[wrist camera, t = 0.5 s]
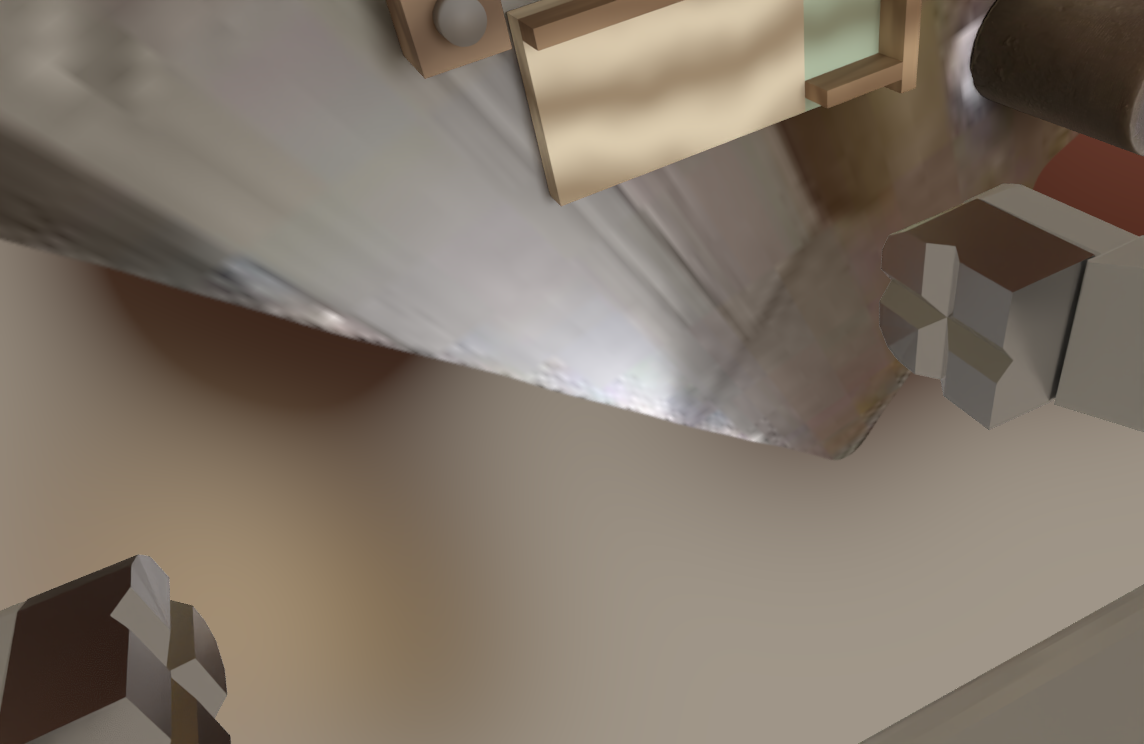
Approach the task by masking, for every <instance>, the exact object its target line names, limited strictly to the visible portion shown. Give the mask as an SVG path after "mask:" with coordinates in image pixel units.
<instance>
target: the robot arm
mask: <svg viewBox="0 0 1144 744" xmlns="http://www.w3.org/2000/svg"><path fill="white" fill-rule="evenodd" d="M881 269H882V271H883V272H884V273H885V274H886V275H887V276H888V277H889V278H890V279H891V282H890V284H889V285H888V287H887V289H886V291H885V293H884V294H883V296H882V298H881V300H880V301H879V326H880V329H881V331H882V334H883V336H884V339H885V341H886V344H887V346H888V348H889V349H890V351H891V352H892V353H893V354H894V356H895V357H896V358H897V360H898V361H899V362H900V363H902V364H903V365H904V366H905V367H907V368H908V369H909V370H910V371H912V372H913V373H914V374H917V375H922V376H926V377H931V378H936V379H940V380H941V384H942V390H943V395H944V397H946V398H947V399H948V400H950V401H951V402H952V403H954V404H955V405H956V406H958V407H959V408H960V409H962V410H963V411H964V412H966V413H967V414H968V415H970V416H971V417H972V418H974V419H975V420H976V421H978V422H979V423H980V424H982V425H983V426H984V427H985V428H987V429H988V430H990V429H993V428H995V427H997V426H999V425H1001V424H1003V423H1006V422H1008V421H1010V420H1012V419H1015V418H1017V417H1019V416H1021V415H1023V414H1025V413H1027V412H1030V411H1032V410H1034V409H1036V408H1039V407H1041V406H1043V405H1045V404H1047V403H1050V402H1052V401H1054V400H1055V403H1054V404H1055V405H1058V406H1061V407H1064V408H1068V409H1071V410H1074V411H1077V412H1080V413H1084V414H1087V415H1090V416H1093V417H1097V418H1100V419H1103V420H1106V421H1109V422H1113V423H1116V424H1119V425H1122V426H1126V427H1129V428H1132V429H1135V430H1139V431H1142V432H1144V235H1143V236H1141V237H1138V236H1136V235H1134V234H1131V233H1129V232H1127V231H1125V230H1122V229H1120V228H1118V227H1116V226H1113V225H1111V224H1109V223H1106V222H1104V221H1102V220H1100V219H1098V218H1095V217H1093V216H1090V215H1088V214H1086V213H1084V212H1082V211H1079V210H1077V209H1075V208H1073V207H1070V206H1068V205H1066V204H1064V203H1061V202H1059V201H1057V200H1054V199H1052V198H1050V197H1048V196H1045V195H1043V194H1040V193H1039V192H1036V191H1034V190H1032V189H1030V188H1027V187H1025V186H1023V185H1021V184H1002V185H999V186H997V187H995V188H993V189H991V190H988V191H986V192H984V193H982V194H980V195H977V196H975V197H973V198H971V199H969V200H966V201H965V202H964V203H963V204H960V205H958V206H955V207H953V208H951V209H949V210H946V211H944V212H942V213H939V214H937V215H935V216H932V217H930V218H928V219H925V220H923V221H921V222H919V223H916V224H914V225H912V226H909V227H907V228H905V229H902V230H900V231H898V232H895V233H893V234H891V235H889V236H888V238H887V240H886V242H885V245H884V247H883V249H882V260H881ZM226 696H227V688H226V678H225V669H224V665H223V662H222V659H221V656H220V652H219V649H218V646H217V643H216V640H215V638H214V636H213V635H212V633H211V631H210V629H209V627H208V626H207V624H206V622H205V621H204V619H203V618H202V617H201V616H200V614H199V613H198V612H197V611H196V609H195V608H194V607H193V606H191V605H188V604H184V603H180V602H175V601H172V600H170V588H169V577H168V576H167V575H166V574H165V573H164V571H163V570H162V569H161V568H160V567H159V566H158V565H157V564H156V563H155V561H154V560H153V559H152V558H151V557H150V556H144V555H136V556H133V557H131V558H128V559H126V560H123V561H121V562H118V563H116V564H114V565H111V566H108V567H106V568H103V569H101V570H99V571H96V572H93V573H91V574H89V575H86V576H83V577H81V578H78V579H76V580H73V581H71V582H68V583H66V584H64V585H61V586H59V587H56V588H54V589H51V590H49V591H46V592H44V593H41V594H39V595H36V596H34V597H31V598H29V599H28V600H27V601H25V602H22V603H18V604H16V605H13V606H11V607H9V608H6V609H4V610H2V611H0V744H231V739H230V735H229V734H228V733H227V732H226V731H225V729H224V728H223V727H222V726H221V725H220V724H219V723H218V722H217V721H216V720H215V717H216V715H217V713H218V711H219V709H220V707H221V706H222V704H223V702H224V700H225V698H226ZM858 744H1144V585H1142V586H1140V587H1138V588H1136V589H1134V590H1133V591H1131V592H1129V593H1127V594H1125V595H1124V596H1122V597H1120V598H1118V599H1117V600H1115V601H1113V602H1111V603H1109V604H1108V605H1106V606H1104V607H1102V608H1100V609H1099V610H1097V611H1095V612H1093V613H1091V614H1090V615H1088V616H1086V617H1084V618H1082V619H1081V620H1079V621H1077V622H1075V623H1073V624H1072V625H1070V626H1068V627H1067V628H1065V629H1063V630H1061V631H1059V632H1057V633H1056V634H1054V635H1052V636H1051V637H1049V638H1047V639H1045V640H1043V641H1041V642H1040V643H1038V644H1036V645H1034V646H1032V647H1030V648H1029V649H1027V650H1025V651H1023V652H1022V653H1020V654H1018V655H1016V656H1014V657H1013V658H1011V659H1009V660H1007V661H1005V662H1004V663H1002V664H1000V665H998V666H996V667H995V668H993V669H991V670H989V671H987V672H986V673H984V674H982V675H980V676H978V677H977V678H975V679H973V680H971V681H970V682H968V683H966V684H964V685H963V686H961V687H959V688H957V689H955V690H954V691H952V692H950V693H948V694H947V695H944V696H943V697H941V698H939V699H937V700H936V701H934V702H932V703H930V704H928V705H927V706H925V707H923V708H921V709H920V710H918V711H916V712H914V713H912V714H910V715H909V716H907V717H905V718H903V719H901V720H900V721H898V722H896V723H894V724H893V725H891V726H889V727H887V728H885V729H884V730H882V731H880V732H878V733H876V734H875V735H873V736H871V737H869V738H867V739H866V740H864V741H862V742H860V743H858Z"/></svg>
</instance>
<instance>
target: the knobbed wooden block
mask: <svg viewBox="0 0 1144 744" xmlns="http://www.w3.org/2000/svg"><path fill="white" fill-rule="evenodd" d="M386 3H387V6H388V9H389V12H390V15H391V18H392V21H393V24H394V27H395V30H396V33H397V37H398V40H399V43H400V46H401V49H402V52H403V55H404V57H405V58H406V59H407V60H408V61H409V62H410V63H411V64H412V65H413V66H414V67H415V68H416V70H417V71H418V72H419V73H420V74H421V75H422V76H423V77H424V78H425V79H426V78H429V77H432V76H435V75H437V74H440V73H443V72H446V71H449V70H452V69H455V68H458V67H461V66H464V65H466V64H469V63H472V62H475V61H478V60H481V59H484V58H487V57H490V56H493V55H495V54H498V53H501V52H504V51H507V50H510V49H512V46H511V42H510V38H509V34H508V29H507V25H506V21H505V17H504V13H503V9H502V4H501V0H386Z"/></svg>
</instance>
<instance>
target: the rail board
mask: <svg viewBox="0 0 1144 744" xmlns="http://www.w3.org/2000/svg"><path fill="white" fill-rule="evenodd" d="M921 6H922V0H541V1H538V2H535V3H532V4H529V5H526V6H523V7H520V8H517V9H514V10H511V11H508V12H506V13H507V17H508V21H509V25H510V30H511V34H512V38H513V42H514V46H515V50H516V55H517V59H518V63H519V67H520V71H521V76H522V80H523V84H524V88H525V92H526V96H527V101H528V105H529V109H530V113H531V117H532V122H533V126H534V130H535V134H536V138H537V143H538V147H539V151H540V155H541V159H542V163H543V168H544V172H545V176H546V180H547V184H548V189H549V193H550V195H551V196H552V198H553V199H554V200H555V201H556V202H557V203H558V204H559V205H560V206H563V205H566V204H568V203H571V202H573V201H576V200H579V199H581V198H584V197H586V196H589V195H592V194H594V193H597V192H599V191H602V190H604V189H607V188H610V187H612V186H615V185H617V184H620V183H622V182H625V181H628V180H630V179H633V178H635V177H638V176H641V175H643V174H646V173H648V172H651V171H653V170H656V169H659V168H661V167H664V166H666V165H669V164H672V163H674V162H677V161H679V160H682V159H684V158H687V157H690V156H692V155H695V154H697V153H700V152H702V151H705V150H708V149H710V148H713V147H715V146H718V145H721V144H723V143H726V142H728V141H731V140H733V139H736V138H739V137H741V136H744V135H746V134H749V133H751V132H754V131H757V130H759V129H762V128H764V127H767V126H770V125H772V124H775V123H777V122H780V121H782V120H785V119H788V118H790V117H793V116H795V115H798V114H800V113H803V112H806V111H808V110H811V109H813V108H816V107H819V106H823V107H825V108H830V107H832V106H835V105H838V104H840V103H843V102H845V101H848V100H850V99H853V98H855V97H858V96H861V95H863V94H866V93H868V92H871V91H873V90H876V89H879V88H881V87H886V88H889V89H891V90H894V91H896V92H899V93H904V92H906V91H909V90H912V89H914V88H916V77H917V63H918V49H919V34H920V20H921Z"/></svg>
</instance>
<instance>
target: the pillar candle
mask: <svg viewBox="0 0 1144 744" xmlns="http://www.w3.org/2000/svg"><path fill="white" fill-rule="evenodd" d="M971 71H972V77H973V79H974V84H975V87H976V88H977V90H978V91H979V92H980V94H981V95H982V96H984V97H985V98H987V99H990V100H992V101H994V102H997V103H1000V104H1002V105H1005V106H1008V107H1011V108H1013V109H1016V110H1018V111H1021V112H1023V113H1027V114H1030V115H1032V116H1035V117H1037V118H1040V119H1043V120H1046V121H1048V122H1051V123H1054V124H1057V125H1059V126H1062V127H1065V128H1068V129H1070V130H1073V131H1076V132H1078V133H1081V134H1084V135H1087V136H1090V137H1092V138H1095V139H1098V140H1100V141H1103V142H1106V143H1108V144H1111V145H1114V146H1116V147H1119V148H1122V149H1125V150H1128V151H1130V152H1133V153H1136V154H1138V155H1141V156H1144V0H997V2H996V3H995V5H994V6H993V7H992V8H991V10H990V12H989V14H988V15H987V17H986V18H985V20H984V22H983V24H982V26H981V29H980V31H979V34H978V36H977V39H976V42H975V48H974V52H973V56H972V62H971Z"/></svg>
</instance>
